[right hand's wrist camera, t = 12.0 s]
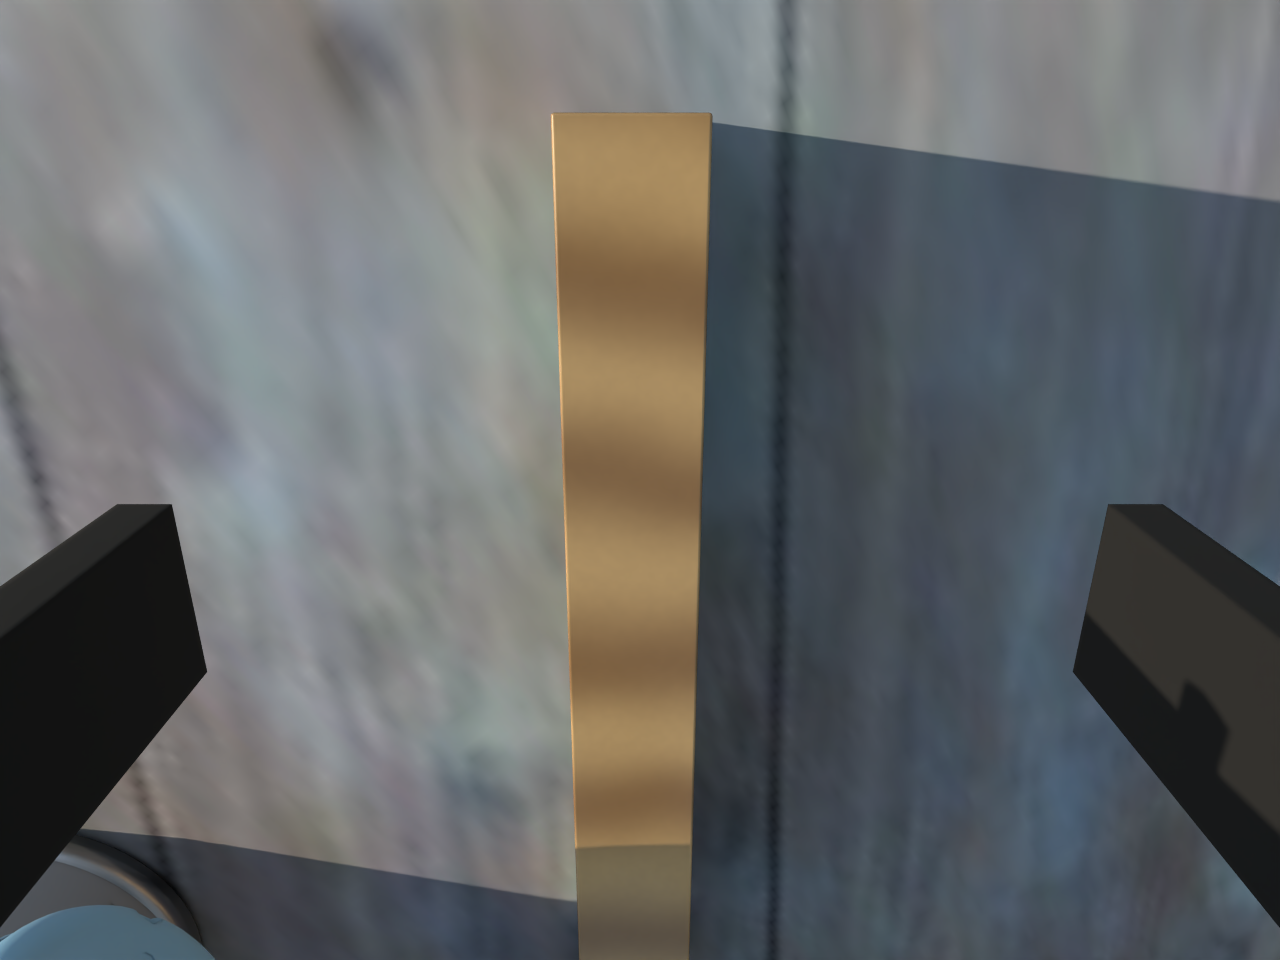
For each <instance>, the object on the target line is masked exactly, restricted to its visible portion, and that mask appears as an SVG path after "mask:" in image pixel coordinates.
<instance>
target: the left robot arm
mask: <svg viewBox="0 0 1280 960" xmlns="http://www.w3.org/2000/svg"><path fill="white" fill-rule="evenodd" d="M0 960H215V958H214V957H213V956H212V955H211V954H210V953H209V952H208V951H207V950H206V949H205V948H204V947H203V946H202V943H201V938H200V934H199V931H198V928H197V926H196V923H195V921H194V919H193V917H192V915H191V913H190V912H189V910H188V908H187V907H186V905H185V904H184V903H183V901H182V900H181V898H180V897H179V896H178V895H177V894H176V893H175V891H174V890H173V889H172V888H171V887H170V886H169V885H168V884H167V883H166V882H165V881H164V880H163V879H161V878H160V877H159V876H158V875H157V874H156V873H154V872H153V871H152V870H150V869H149V868H147V867H146V866H145V865H143V864H142V863H140V862H139V861H137V860H135V859H134V858H132V857H130V856H129V855H127V854H125V853H123V852H121V851H119V850H117V849H115V848H112V847H110V846H108V845H105V844H103V843H100V842H97V841H94V840H91V839H88V838H85V837H81V836H77V835H75V836H74V837H73V838H72V840H71V841H70V842H69V843H68V844H67V846H66V847H65V848H64V849H63V851H62V852H61V853H60V854H59V856H58V857H57V858H56V859H55V861H54V862H53V863H52V864H51V866H50V867H49V868H48V869H47V870H46V872H45V873H44V874H43V875H42V877H41V878H40V879H39V880H38V882H37V883H36V884H35V885H34V887H33V888H32V889H31V890H30V891H29V893H28V894H27V895H26V896H25V898H24V899H23V900H22V901H21V903H20V904H19V905H18V906H17V908H16V909H15V910H14V911H13V912H12V914H11V915H10V916H9V917H8V919H7V920H6V921H5V922H4V924H3V925H2V926H1V927H0Z"/></svg>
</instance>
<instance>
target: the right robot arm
mask: <svg viewBox="0 0 1280 960" xmlns="http://www.w3.org/2000/svg"><path fill="white" fill-rule="evenodd" d="M206 673H207V669H206V664H205V659H204V655H203V650H202V645H201V641H200V636H199V631H198V626H197V622H196V617H195V612H194V607H193V603H192V598H191V593H190V588H189V584H188V579H187V574H186V570H185V565H184V560H183V555H182V551H181V546H180V541H179V536H178V532H177V527H176V522H175V518H174V513H173V508H172V504H117V505H115V506H114V507H113V508H111V509H110V510H108V511H107V512H105V513H104V514H103V515H101V516H100V517H98V518H97V519H96V520H94V521H93V522H91V523H90V524H88V525H87V526H86V527H84V528H83V529H81V530H80V531H78V532H77V533H76V534H74V535H73V536H71V537H70V538H69V539H67V540H66V541H64V542H63V543H61V544H60V545H59V546H57V547H56V548H54V549H53V550H51V551H50V552H49V553H47V554H46V555H44V556H43V557H41V558H40V559H39V560H37V561H36V562H34V563H33V564H32V565H30V566H29V567H27V568H26V569H24V570H23V571H22V572H20V573H19V574H17V575H16V576H14V577H13V578H12V579H10V580H9V581H7V582H6V583H5V584H3V585H2V586H0V927H1V926H2V925H3V924H4V922H5V921H6V920H7V919H8V917H9V916H10V915H11V914H12V912H13V911H14V910H15V909H16V908H17V906H18V905H19V904H20V903H21V901H22V900H23V899H24V898H25V896H26V895H27V894H28V893H29V891H30V890H31V889H32V888H33V887H34V885H35V884H36V883H37V882H38V880H39V879H40V878H41V877H42V875H43V874H44V873H45V872H46V870H47V869H48V868H49V867H50V866H51V864H52V863H53V862H54V861H55V859H56V858H57V857H58V856H59V854H60V853H61V852H62V851H63V849H64V848H65V847H66V846H67V844H68V843H69V842H70V841H71V840H72V838H73V837H74V836H75V835H76V833H77V832H78V831H79V830H80V828H81V827H82V826H83V825H84V823H85V822H86V821H87V820H88V819H89V817H90V816H91V815H92V814H93V812H94V811H95V810H96V809H97V807H98V806H99V805H100V804H101V802H102V801H103V800H104V799H105V797H106V796H107V795H108V794H109V793H110V791H111V790H112V789H113V788H114V786H115V785H116V784H117V783H118V781H119V780H120V779H121V778H122V776H123V775H124V774H125V773H126V772H127V770H128V769H129V768H130V767H131V765H132V764H133V763H134V762H135V760H136V759H137V758H138V757H139V755H140V754H141V753H142V752H143V751H144V749H145V748H146V747H147V746H148V744H149V743H150V742H151V741H152V739H153V738H154V737H155V736H156V734H157V733H158V732H159V731H160V729H161V728H162V727H163V726H164V725H165V723H166V722H167V721H168V720H169V718H170V717H171V716H172V715H173V713H174V712H175V711H176V710H177V708H178V707H179V706H180V705H181V704H182V702H183V701H184V700H185V699H186V697H187V696H188V695H189V694H190V692H191V691H192V690H193V689H194V687H195V686H196V685H197V684H198V683H199V681H200V680H201V679H202V678H203V676H204V675H205V674H206ZM1073 673H1074V674H1075V675H1076V676H1077V678H1078V679H1079V680H1080V681H1081V682H1082V684H1083V685H1084V686H1085V687H1086V689H1087V690H1088V691H1089V692H1090V694H1091V695H1092V696H1093V697H1094V699H1095V700H1096V701H1097V702H1098V704H1099V705H1100V706H1101V707H1102V708H1103V710H1104V711H1105V712H1106V713H1107V715H1108V716H1109V717H1110V718H1111V720H1112V721H1113V722H1114V723H1115V725H1116V726H1117V727H1118V728H1119V729H1120V731H1121V732H1122V733H1123V734H1124V736H1125V737H1126V738H1127V739H1128V741H1129V742H1130V743H1131V744H1132V746H1133V747H1134V748H1135V749H1136V751H1137V752H1138V753H1139V754H1140V755H1141V757H1142V758H1143V759H1144V760H1145V762H1146V763H1147V764H1148V765H1149V767H1150V768H1151V769H1152V770H1153V772H1154V773H1155V774H1156V775H1157V776H1158V778H1159V779H1160V780H1161V781H1162V783H1163V784H1164V785H1165V786H1166V788H1167V789H1168V790H1169V791H1170V793H1171V794H1172V795H1173V796H1174V797H1175V799H1176V800H1177V801H1178V802H1179V804H1180V805H1181V806H1182V807H1183V809H1184V810H1185V811H1186V812H1187V814H1188V815H1189V816H1190V817H1191V819H1192V820H1193V821H1194V822H1195V823H1196V825H1197V826H1198V827H1199V828H1200V830H1201V831H1202V832H1203V833H1204V835H1205V836H1206V837H1207V838H1208V840H1209V841H1210V842H1211V843H1212V844H1213V846H1214V847H1215V848H1216V849H1217V851H1218V852H1219V853H1220V854H1221V856H1222V857H1223V858H1224V859H1225V861H1226V862H1227V863H1228V864H1229V866H1230V867H1231V868H1232V869H1233V870H1234V872H1235V873H1236V874H1237V875H1238V877H1239V878H1240V879H1241V880H1242V882H1243V883H1244V884H1245V885H1246V887H1247V888H1248V889H1249V890H1250V891H1251V893H1252V894H1253V895H1254V896H1255V898H1256V899H1257V900H1258V901H1259V903H1260V904H1261V905H1262V906H1263V908H1264V909H1265V910H1266V911H1267V912H1268V914H1269V915H1270V916H1271V917H1272V919H1273V920H1274V921H1275V922H1276V924H1277V925H1278V926H1279V927H1280V586H1278V585H1277V584H1275V583H1274V582H1273V581H1271V580H1270V579H1268V578H1267V577H1266V576H1264V575H1263V574H1261V573H1260V572H1258V571H1257V570H1256V569H1254V568H1253V567H1251V566H1250V565H1248V564H1247V563H1246V562H1244V561H1243V560H1241V559H1240V558H1239V557H1237V556H1236V555H1234V554H1233V553H1231V552H1230V551H1229V550H1227V549H1226V548H1224V547H1223V546H1221V545H1220V544H1219V543H1217V542H1216V541H1214V540H1213V539H1211V538H1210V537H1209V536H1207V535H1206V534H1204V533H1203V532H1202V531H1200V530H1199V529H1197V528H1196V527H1194V526H1193V525H1192V524H1190V523H1189V522H1187V521H1186V520H1184V519H1183V518H1182V517H1180V516H1179V515H1177V514H1176V513H1175V512H1173V511H1172V510H1170V509H1169V508H1167V507H1166V506H1165V505H1163V504H1108V508H1107V513H1106V518H1105V522H1104V527H1103V532H1102V536H1101V541H1100V546H1099V551H1098V555H1097V560H1096V565H1095V570H1094V574H1093V579H1092V584H1091V588H1090V593H1089V598H1088V603H1087V607H1086V612H1085V617H1084V622H1083V626H1082V631H1081V636H1080V641H1079V645H1078V650H1077V655H1076V659H1075V664H1074V669H1073Z"/></svg>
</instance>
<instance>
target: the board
mask: <svg viewBox="0 0 1280 960" xmlns="http://www.w3.org/2000/svg"><path fill="white" fill-rule="evenodd" d="M551 132H552V162H553V192H554V222H555V252H556V282H557V312H558V342H559V372H560V402H561V432H562V462H563V492H564V522H565V552H566V582H567V612H568V642H569V672H570V702H571V732H572V762H573V792H574V822H575V852H576V882H577V912H578V942H579V960H689V945H690V909H691V872H692V836H693V800H694V764H695V728H696V692H697V656H698V620H699V584H700V548H701V512H702V475H703V439H704V403H705V367H706V331H707V295H708V259H709V223H710V187H711V151H712V114H711V113H552V115H551Z"/></svg>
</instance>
